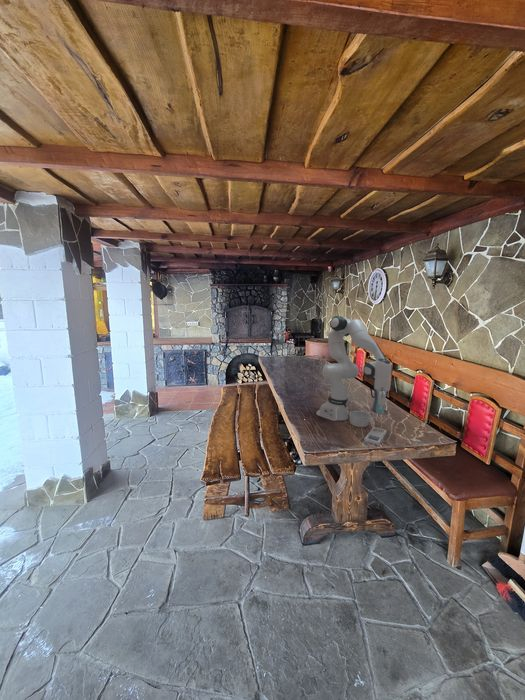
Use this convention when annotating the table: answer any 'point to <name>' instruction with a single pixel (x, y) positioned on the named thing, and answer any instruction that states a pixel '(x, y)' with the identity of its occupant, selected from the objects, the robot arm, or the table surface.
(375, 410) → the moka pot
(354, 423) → the ramekin
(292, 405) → the table surface
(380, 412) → the teal plug
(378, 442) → the socket panel
